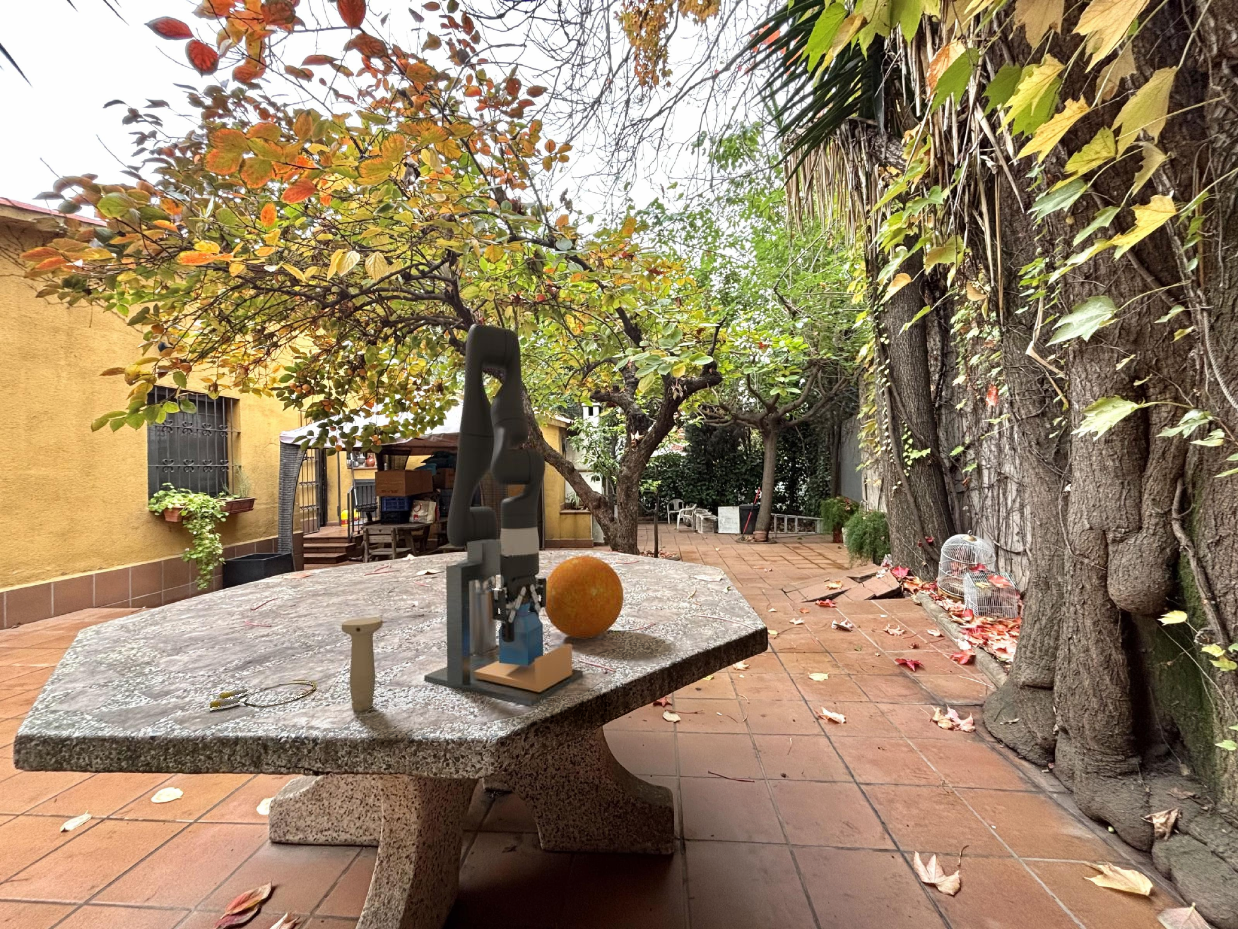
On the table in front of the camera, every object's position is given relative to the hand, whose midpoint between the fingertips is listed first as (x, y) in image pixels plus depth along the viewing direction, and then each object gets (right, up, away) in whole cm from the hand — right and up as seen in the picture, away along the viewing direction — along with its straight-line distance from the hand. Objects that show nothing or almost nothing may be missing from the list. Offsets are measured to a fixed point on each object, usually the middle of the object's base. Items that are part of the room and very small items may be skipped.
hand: (521, 636), depth 103 cm
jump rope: (-47, -10, -4) cm, 48 cm away
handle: (-26, -9, -11) cm, 29 cm away
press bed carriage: (+1, -7, -1) cm, 7 cm away
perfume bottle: (0, -5, 0) cm, 5 cm away
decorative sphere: (+10, -10, +29) cm, 33 cm away
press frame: (-4, -9, +2) cm, 10 cm away
